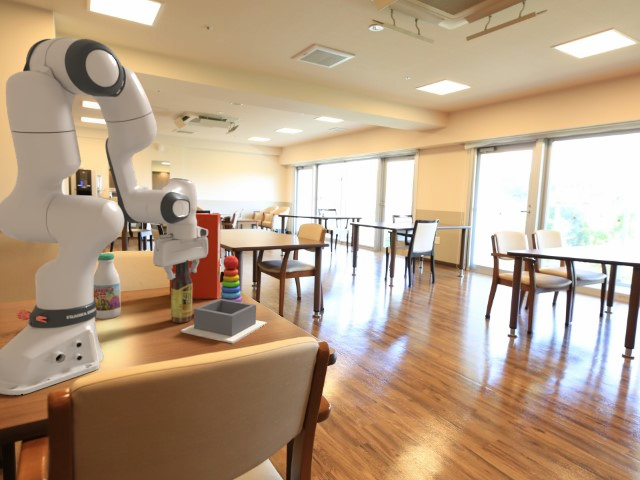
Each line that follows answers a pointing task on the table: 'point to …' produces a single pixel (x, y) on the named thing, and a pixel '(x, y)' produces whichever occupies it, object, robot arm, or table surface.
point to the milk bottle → (107, 288)
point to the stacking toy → (231, 280)
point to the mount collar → (224, 321)
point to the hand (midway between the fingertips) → (182, 276)
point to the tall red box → (207, 261)
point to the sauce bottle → (181, 294)
